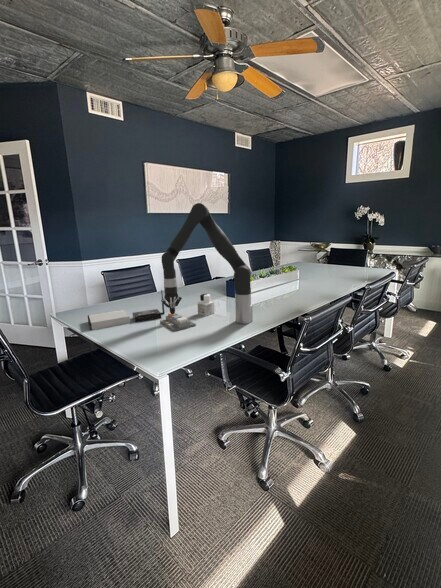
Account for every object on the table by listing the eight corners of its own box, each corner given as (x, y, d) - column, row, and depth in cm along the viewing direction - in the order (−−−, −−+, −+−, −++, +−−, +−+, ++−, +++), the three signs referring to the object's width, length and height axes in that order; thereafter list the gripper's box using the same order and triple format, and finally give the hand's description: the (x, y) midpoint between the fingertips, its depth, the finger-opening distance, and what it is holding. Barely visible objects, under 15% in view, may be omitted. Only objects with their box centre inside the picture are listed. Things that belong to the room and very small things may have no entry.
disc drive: (88, 322, 185) (87, 315, 184) (125, 316, 195) (124, 309, 194) (90, 331, 170) (89, 322, 169) (130, 323, 180) (129, 315, 179)
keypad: (181, 317, 186) (180, 312, 185) (195, 325, 171) (195, 320, 170) (160, 322, 179) (159, 317, 178) (173, 331, 163) (173, 325, 162)
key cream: (183, 320, 172) (183, 317, 172) (187, 322, 168) (186, 318, 168) (176, 321, 170) (176, 318, 169) (180, 323, 166) (179, 320, 166)
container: (197, 313, 193) (196, 294, 190) (206, 311, 198) (205, 292, 195) (206, 316, 188) (205, 296, 185) (214, 313, 193) (213, 293, 190)
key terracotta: (174, 315, 182) (174, 312, 181) (177, 317, 178) (177, 313, 178) (168, 316, 179) (167, 313, 179) (171, 318, 176) (170, 315, 175)
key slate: (179, 317, 177) (178, 314, 176) (182, 319, 173) (182, 316, 173) (172, 319, 175) (172, 316, 174) (175, 321, 171) (175, 317, 170)
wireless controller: (136, 324, 179) (133, 296, 175) (132, 317, 191) (129, 292, 187) (168, 318, 187) (166, 292, 183) (163, 312, 199) (160, 288, 195)
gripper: (177, 283, 181) (179, 310, 185) (157, 286, 174) (159, 314, 178) (183, 284, 175) (185, 312, 179) (162, 288, 168) (164, 317, 172)
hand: (172, 313), depth 178 cm, fingers closed
